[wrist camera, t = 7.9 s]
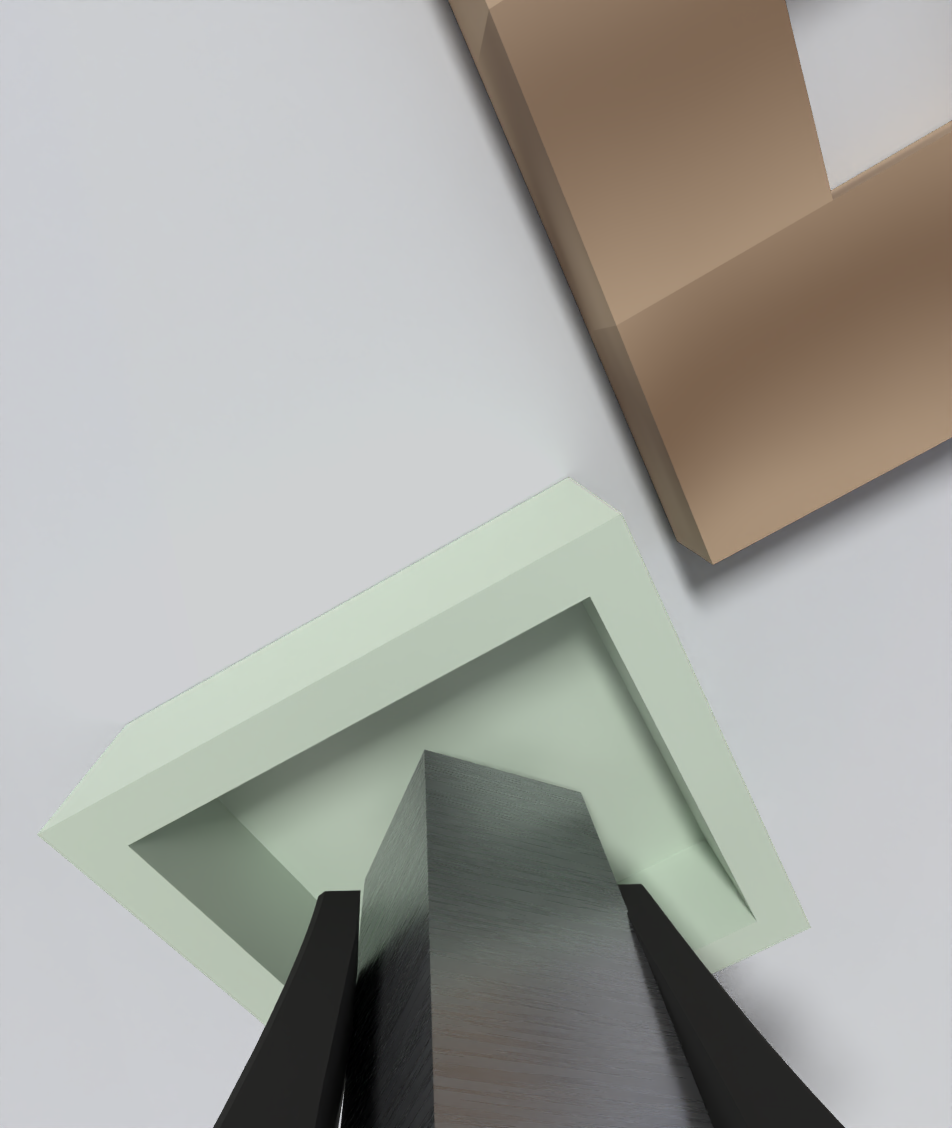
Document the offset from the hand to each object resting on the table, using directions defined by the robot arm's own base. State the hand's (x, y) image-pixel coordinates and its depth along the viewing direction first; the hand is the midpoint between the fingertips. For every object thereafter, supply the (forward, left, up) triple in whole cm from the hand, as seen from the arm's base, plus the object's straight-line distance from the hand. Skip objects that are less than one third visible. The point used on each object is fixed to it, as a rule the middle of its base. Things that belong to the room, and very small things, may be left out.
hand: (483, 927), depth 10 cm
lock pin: (0, 0, -2) cm, 2 cm away
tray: (0, 0, -4) cm, 4 cm away
